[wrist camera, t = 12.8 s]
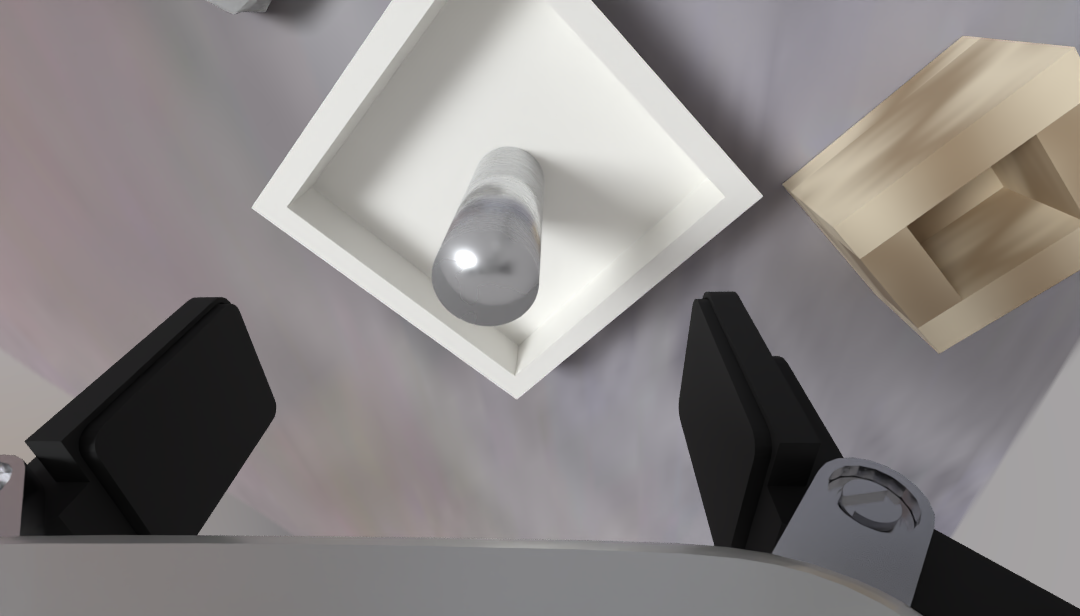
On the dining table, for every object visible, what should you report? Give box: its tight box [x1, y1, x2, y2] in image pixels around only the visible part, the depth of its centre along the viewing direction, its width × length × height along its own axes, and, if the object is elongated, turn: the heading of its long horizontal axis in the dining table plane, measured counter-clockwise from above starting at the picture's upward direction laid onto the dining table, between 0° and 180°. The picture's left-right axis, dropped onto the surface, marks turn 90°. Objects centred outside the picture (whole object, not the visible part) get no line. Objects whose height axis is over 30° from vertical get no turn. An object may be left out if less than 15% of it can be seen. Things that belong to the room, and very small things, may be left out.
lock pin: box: [432, 146, 545, 326], centre depth 18 cm, size 3×3×9 cm
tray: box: [252, 0, 763, 399], centre depth 22 cm, size 14×14×4 cm
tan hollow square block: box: [782, 36, 1080, 354], centre depth 21 cm, size 8×8×5 cm
